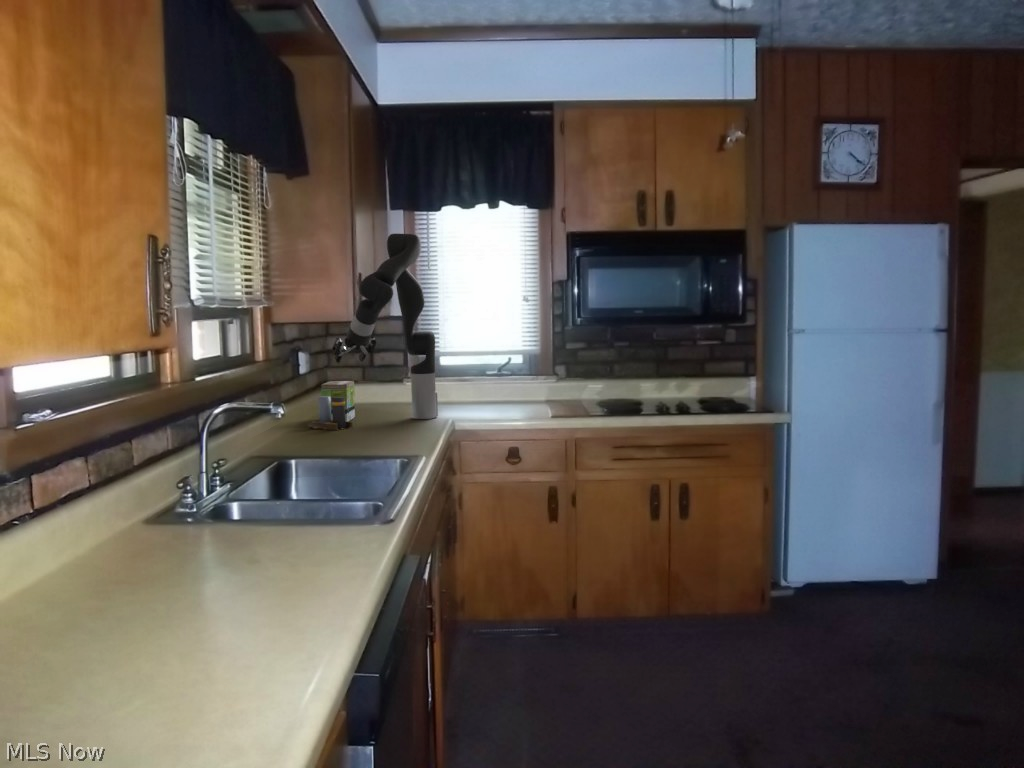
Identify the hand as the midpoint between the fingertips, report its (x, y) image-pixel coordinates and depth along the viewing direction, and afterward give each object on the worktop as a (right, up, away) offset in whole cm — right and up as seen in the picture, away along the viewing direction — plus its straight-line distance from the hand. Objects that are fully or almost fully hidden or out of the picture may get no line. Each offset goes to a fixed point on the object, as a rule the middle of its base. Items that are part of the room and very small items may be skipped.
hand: (348, 360), depth 278 cm
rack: (-8, -24, +13) cm, 28 cm away
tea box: (-10, -22, +32) cm, 40 cm away
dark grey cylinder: (-6, -24, +11) cm, 27 cm away
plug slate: (-11, -24, +15) cm, 30 cm away
